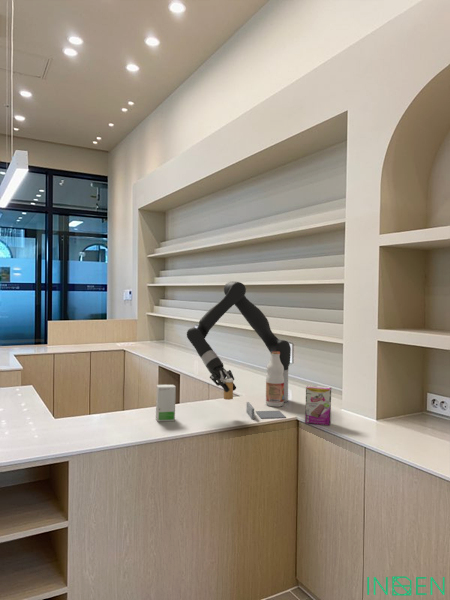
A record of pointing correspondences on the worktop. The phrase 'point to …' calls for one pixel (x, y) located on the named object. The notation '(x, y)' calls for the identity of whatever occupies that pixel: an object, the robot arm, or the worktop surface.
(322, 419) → the candy bar box
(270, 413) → the dark slate mat
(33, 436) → the worktop surface
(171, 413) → the skincare box
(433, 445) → the worktop surface
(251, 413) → the smoky grey acrylic wall
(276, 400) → the fruit juice
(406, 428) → the worktop surface
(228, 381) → the amber medicine bottle
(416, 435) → the worktop surface
